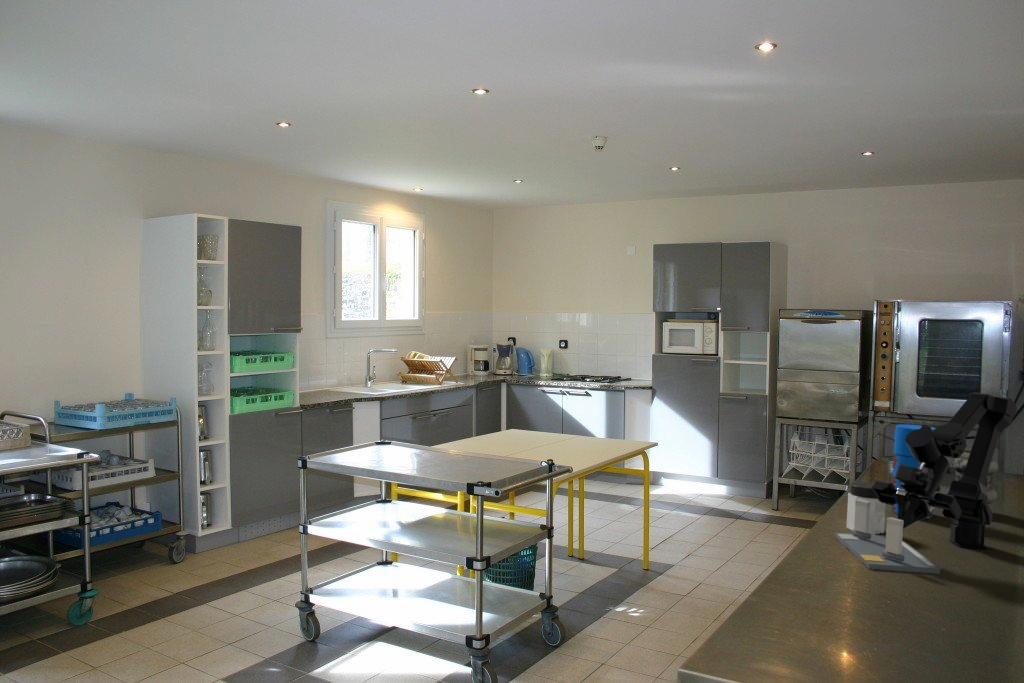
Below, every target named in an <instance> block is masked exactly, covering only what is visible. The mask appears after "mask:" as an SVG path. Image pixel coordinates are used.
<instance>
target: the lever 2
mask: <svg viewBox="0 0 1024 683" xmlns="http://www.w3.org/2000/svg"><path fill="white" fill-rule="evenodd" d="M885 523H886V527H885V528H886V532H885V536H886V548H885V550H883V552H882V555H883V556H885V557H888V558H892V559H895V560H898V561H902V562H903V561H904V555H900V554H902V540H903V532H904V531H903V530H904V529H903V524H904V520H900V519H898V518H895V517H892V516H891V517H886V522H885Z"/></svg>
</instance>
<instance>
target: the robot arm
mask: <svg viewBox="0 0 1024 683" xmlns="http://www.w3.org/2000/svg"><path fill="white" fill-rule="evenodd" d="M1017 410H1018V407H1017V404H1016V403H1015V402H1014V400H1013V399H1012V398H1011V397H1004V396H994V395H991V394H989V393H982V392H981V393H980V392H971V393H968V394H967V396H966V401H965V402H964V403H963V404H962V406H961V407H959V409H958V410H957V411H956V413H955V414H954V415H953V416H952V417H951V418H950V420H949V421H948V422H947V423H946V424H943V425H939V426H937V427H935V428H936V429H934V430H933V431H932V429H931V427H932V426H928V425H927V426H926V425H920V426H921V428H920V429H916V430H914V431H912V432H910V433H909V434H907V436H906V438H905V441H906V443H907V445H908V447H909V449H910V451H911V453H912V454H913V456H914V458H915V459H916V460H917V461H919V462H920V463H919V465H918V466H917V468H914V467H908V466H903V465H899V466H898V469H897V472H896V475H895V479H898V480H900V481H901V484H900V485H901V487H902V488H904V489H905V490H904V489H899V488H898V489H897V490H896V489H895V487H894V485H893V482H889V481H883V480H875V481H874V482H873V483H874V484H873V485H872V487H871V488H872V490H873V492H874V493H875V495H876V497H877V498H878V500H879V501H880V502H881V503H885V505H890V506H892V505H894V504H896V503H897V504H898V515H897V519H900V520H904V524H903V530H905V529H906V528H907V527H909V526H911V525H913V524H914V523H916V522H919V521H921V520H924V519H923V518H925V517H931V516H932V517H933V514H931V511H932V509H933V510H935V508H937V509H942V511H941V513H942V515H943V517H944V518H945V519H949V520H953V521H952V523H951V524H950V534H949V535H950V536H949V538H948V540H949V541H951V542H952V543H953V544H955V545H956V546H958V547H961V548H970V549H974V548H975V549H984V550H985V549H988V546H987V545H985V538H986V537H985V536H986V525H988V526H989V525H991V524H992V521H993V516H994V514H993V512H992V509H991V508H990V505H989V504H987V500H988V496H987V493H986V490H985V487H984V483H985V480H986V477H987V473H988V470H989V467H990V464H991V460H992V458H993V457H994V453H995V450H996V446H997V443H998V441H999V437H1000V434H1001V433H1002V432H1003V431H1004V430H1006V428H1007V429H1008V427H1009V426H1011V425H1012V421H1013V419H1014V417H1015V416H1016V414H1017ZM976 425H978V427H977V429H976V433H975V436H974V440H973V443H972V446H971V448H970V449H971V452H970V455H969V458H968V461H967V464H966V468H965V471H964V474H963V477H962V478H961V479H960V480H958V481H956V480H955V479H953V480H952V481H951V483H950V486H949V489H948V492H947V493H942V492H940V491H941V486H940V484H941V482H942V480H943V479H944V477H945V475H946V474H949V475H951V474H952V469H951V466H950V465H951V464H950V462H949V461H948V458H951V459H954V458H959V457H960V456H961V455H962V454H963V453H964V451H965V449H967V446H968V445H967V440H966V439H967V437H968V436H969V434H970V433H971V432H972V430H973V429H974V428H975V427H976ZM933 495H934V498H933Z"/></svg>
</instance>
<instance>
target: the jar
mask: <svg viewBox="0 0 1024 683" xmlns="http://www.w3.org/2000/svg"><path fill="white" fill-rule="evenodd" d="M873 484H874V482H869V481H868V482H865V481H852V482H851V483H850V484H849V485H850V488H849V492H848V494H847V510H846V512H847V513H846V529H848V530H849V531H852V530H853V529H854V525H855V500H858V499H860V500H864V501H869V502H871V504H870V518H869V532H868V533H869V534H872V535H876V534H877V535H880V533H881V534H884V533H885V520H886V517H885V516H886V504H885V503H881V502H880V501H879V500H878V498H877V497H876V495H875V493H874V492H873V490H872V488H871V487H872V485H873Z"/></svg>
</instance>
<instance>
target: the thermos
mask: <svg viewBox="0 0 1024 683" xmlns="http://www.w3.org/2000/svg"><path fill="white" fill-rule="evenodd" d="M921 426H922V425H919V424H896V425H895V431H894V448H893V466H892V467H893V468H892V483H893V485H894V487H895V489H896V490H897V489H898V488H899V489H904V488H902V487H901V485H900V484H901V481H900V480H898V479H895V475H896V472H897V469H898V466H899V465H903V466H908V467H914V468H917V466H918V465H919V463H920V462H919V461H917V460H916V459H915V458H914V456H913V454H912V453H911V451H910V449H909V447H908V445H907V443H906V441H905V438H906V436H907V434H909V433H910V432H912V431H914V430H916V429H920V428H921ZM930 427H931V429H932V431H933V430H934V429H936V428H937V427H933V426H930ZM904 490H905V489H904ZM934 495H935V494H934ZM934 495H933V498H934ZM891 512H892V513H893V512H894V513H896V514H895V515H897V514H898V504H897V503H896V504H894V505H891ZM933 512H934V509H932V511H931V514H932V515H933ZM894 513H893V514H894ZM925 518H927V517H925ZM927 519H928V518H927Z"/></svg>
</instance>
